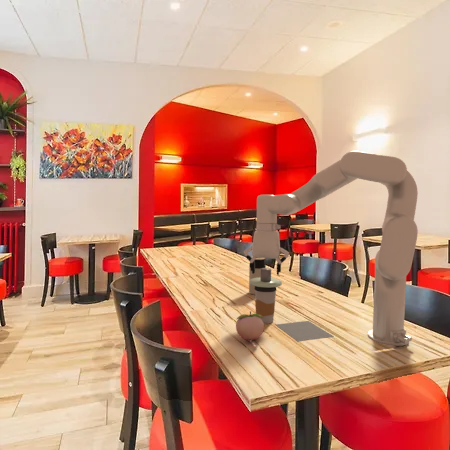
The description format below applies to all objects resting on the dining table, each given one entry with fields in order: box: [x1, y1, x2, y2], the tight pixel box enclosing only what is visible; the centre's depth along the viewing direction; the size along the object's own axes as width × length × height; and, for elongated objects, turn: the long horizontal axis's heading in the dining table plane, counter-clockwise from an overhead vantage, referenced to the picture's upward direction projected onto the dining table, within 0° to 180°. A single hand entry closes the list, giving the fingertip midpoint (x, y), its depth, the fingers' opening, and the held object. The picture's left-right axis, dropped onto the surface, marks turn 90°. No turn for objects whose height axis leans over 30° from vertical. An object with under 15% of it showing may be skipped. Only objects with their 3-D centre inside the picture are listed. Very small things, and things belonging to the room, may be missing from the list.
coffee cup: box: [254, 286, 277, 325], centre depth 133 cm, size 8×8×15 cm
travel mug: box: [248, 256, 267, 295], centre depth 175 cm, size 8×8×18 cm
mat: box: [275, 320, 335, 342], centre depth 125 cm, size 16×14×1 cm
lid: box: [250, 267, 283, 288], centre depth 133 cm, size 12×12×6 cm
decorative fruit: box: [235, 311, 265, 342], centre depth 115 cm, size 9×8×10 cm
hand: (265, 273), depth 133 cm, fingers open, 8 cm apart
